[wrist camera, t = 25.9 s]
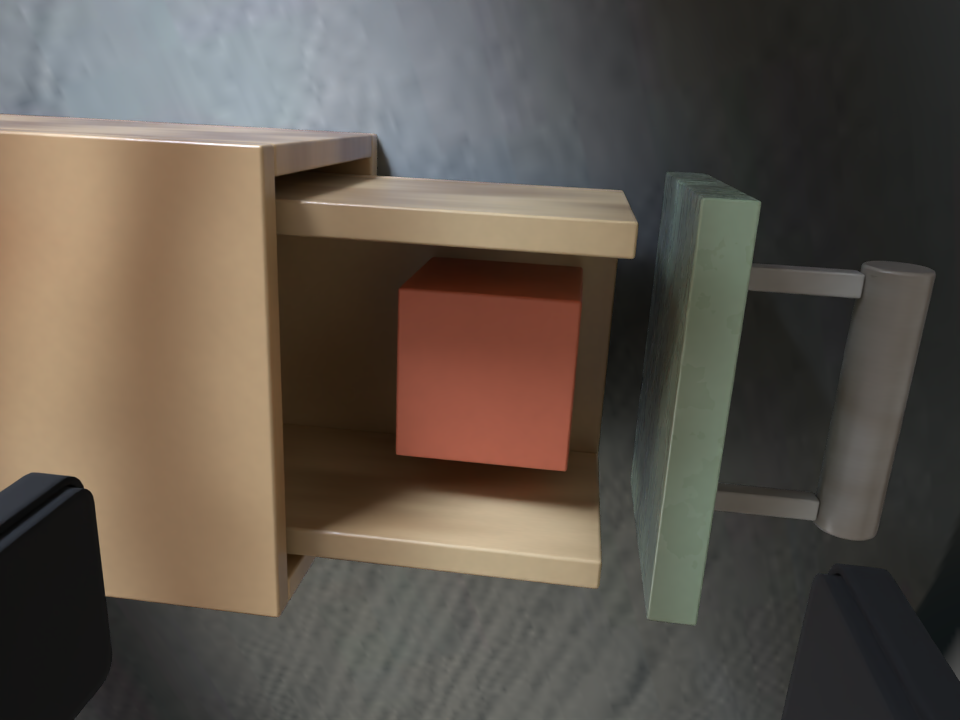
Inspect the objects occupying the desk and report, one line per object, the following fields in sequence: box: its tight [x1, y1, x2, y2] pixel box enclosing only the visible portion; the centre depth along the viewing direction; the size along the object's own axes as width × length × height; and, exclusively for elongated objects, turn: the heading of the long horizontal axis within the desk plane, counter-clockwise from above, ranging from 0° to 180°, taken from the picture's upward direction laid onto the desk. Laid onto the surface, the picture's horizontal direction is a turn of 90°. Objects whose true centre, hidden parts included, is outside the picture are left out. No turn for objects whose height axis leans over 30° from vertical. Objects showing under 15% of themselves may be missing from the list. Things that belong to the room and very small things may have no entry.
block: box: [396, 257, 583, 471], centre depth 22 cm, size 5×5×5 cm
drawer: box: [275, 171, 936, 626], centre depth 22 cm, size 19×10×8 cm, turn 88°
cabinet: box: [0, 114, 377, 617], centre depth 23 cm, size 15×11×9 cm
